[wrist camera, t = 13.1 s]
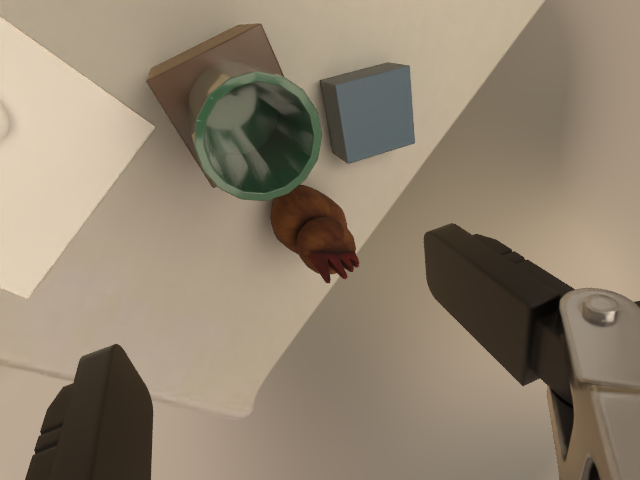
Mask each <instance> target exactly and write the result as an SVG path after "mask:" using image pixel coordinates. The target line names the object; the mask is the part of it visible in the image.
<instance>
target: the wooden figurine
mask: <svg viewBox="0 0 640 480" xmlns="http://www.w3.org/2000/svg"><path fill="white" fill-rule="evenodd" d="M271 224H272V227H273V230H274V233H275V236H276V238H277V239H278V240H279V241H280V242H281V243H282V244H284V245H285V246H286V247H287V248H289V249H290V250H291V251H293V252H295V253H297V254H299V256H300V258H301V259H302V261H303V262H304V263H305V264H306V265H307V267H309V268H310V269H312V270H313V271H315V272H316V273H319V274H320V275H321V276H322V278H323V279H324V281H325V282H326V283H330V274H335V273H338V274H339V275H340V276H341V277H342V278H343V279H347V274H346V272H345V270H344V269H345V268H346V269H347V270H348V271H350V272H353V269H354V268H353V266H354V267H358V266H359V261H358V258H357V256H356V253H355V250H356V247H355V242H354V238H353V236H352V234H351V233H350V231H349V230H348V229H347V223H346V219H345V215H344V212H343V211H342V209H341V208H340V207H339V206H338V205H337V204H336V203H335V202H334V201H333V200H331V199H330V198H329V197H327V196H326V195H324V194H322V193H320V192H319V191H317V190H315V189H312V188H310V187H307V186H304V185H298V186H297V187H296V188H294V189H293V190H292V191H291V192H289V193H288V194H286V195H282V196H279V197H276V199H275V201H274V202H273V204H272V211H271Z"/></svg>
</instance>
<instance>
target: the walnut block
mask: <svg viewBox="0 0 640 480" xmlns="http://www.w3.org/2000/svg"><path fill="white" fill-rule="evenodd" d="M233 60H234V61H241V62H245V63H250V64H254V65H256V66H259V67H261V68H264V69H266V70H269V71H271V72H274V73H276V74H279V75H281V76H283V77H284V75H283V73H282V71H281V68H280V66H279V64H278V61H277V59H276V57H275V54H274V52H273V50H272V48H271V45H270V43H269V41H268V38H267V36H266V34H265V31H264V29H263V27H262V24H245V25H237V26H235V27H233V28H231V29H229V30H227V31H225V32H223V33H221V34H219V35H217V36H215V37H213V38H211V39H209V40H207V41H205V42H203V43H201V44H199V45H197V46H195V47H193V48H191V49H189V50H187V51H185V52H183V53H181V54H179V55H177V56H175V57H173V58H171V59H169V60H167V61H165V62H163V63H161V64H159V65H157V66H155V67H153V68H151V70H150V73H149V76H148V78H147V83H148V85H149V87H150V88H151V90H152V91H153V93H154V95H155V96H156V98H157V99H158V101H159V103H160V104H161V106H162V107H163V109H164V111H165V112H166V114H167V115H168V117H169V119H170V120H171V122H172V123H173V125H174V127H175V128H176V130H177V131H178V133H179V135H180V136H181V138H182V139H183V141H184V143H185V144H186V146H187V147H188V149H189V151H190V152H191V154H192V155H193V157H194V159H195V160H196V162H197V163H198V165H199V167H200V168H201V170H202V171H203V169H202V166H201V164H200V161H199V158H198V155H197V153H196V150H195V147H194V143H193V139H192V135H191V130H190V126H189V122H188V118H187V101H188V95H189V92H190V90H191V87H192V85H193V83H194V82H195V80H196V79H197V78H198V76H199V75H200V74H201V73H202V72H203V71H204V70H206V69H207V68H209V67H210V66H212V65H214V64H217V63H220V62H224V61H233ZM203 173H204V175H205V176H206V178H207V179H208V181H209V183H210V184H211V186H212V187H213V188H215V187H217V185H216V184H215V183H214V182H213V181H212V180H211V179H210V178H209V177H208V176H207V174H206V173H205V172H204V171H203Z"/></svg>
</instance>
